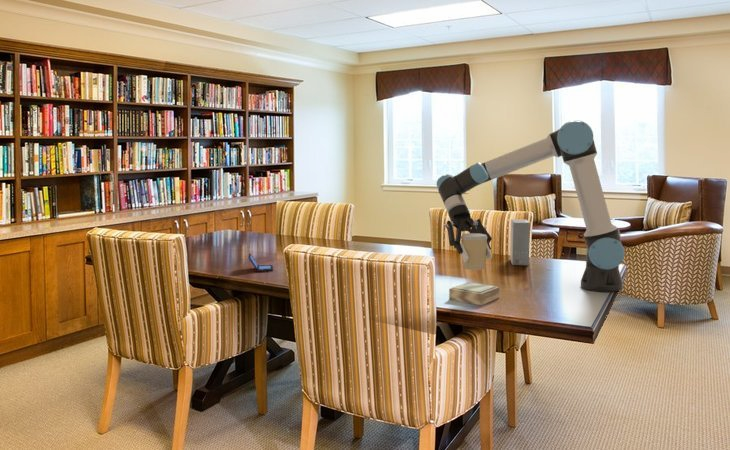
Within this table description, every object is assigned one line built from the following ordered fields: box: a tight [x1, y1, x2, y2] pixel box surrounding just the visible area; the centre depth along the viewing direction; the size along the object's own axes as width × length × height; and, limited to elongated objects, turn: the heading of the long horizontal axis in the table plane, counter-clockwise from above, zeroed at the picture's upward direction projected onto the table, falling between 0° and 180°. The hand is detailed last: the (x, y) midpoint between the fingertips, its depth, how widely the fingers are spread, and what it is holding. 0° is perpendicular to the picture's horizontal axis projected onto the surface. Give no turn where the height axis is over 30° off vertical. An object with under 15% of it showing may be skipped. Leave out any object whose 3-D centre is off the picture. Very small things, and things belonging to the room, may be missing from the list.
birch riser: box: [448, 281, 500, 306], centre depth 215 cm, size 13×13×4 cm
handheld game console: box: [248, 252, 274, 273], centre depth 273 cm, size 12×11×7 cm
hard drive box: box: [509, 218, 531, 266], centre depth 279 cm, size 16×8×20 cm, turn 170°
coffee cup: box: [460, 232, 487, 271], centre depth 213 cm, size 9×9×12 cm
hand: (478, 259), depth 210 cm, fingers closed on coffee cup, 9 cm apart
